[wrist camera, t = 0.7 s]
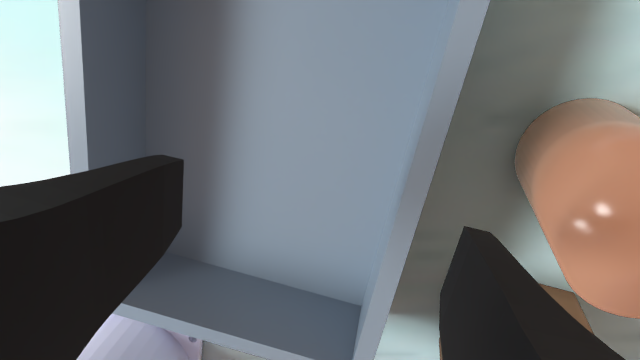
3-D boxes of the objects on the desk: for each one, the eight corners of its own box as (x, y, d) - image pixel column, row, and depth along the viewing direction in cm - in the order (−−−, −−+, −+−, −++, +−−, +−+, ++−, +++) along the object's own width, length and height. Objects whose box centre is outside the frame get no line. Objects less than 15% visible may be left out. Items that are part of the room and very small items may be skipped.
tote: (374, 311, 24) (364, 387, 20) (138, 246, 26) (80, 304, 21) (485, -52, 17) (509, -60, 12) (139, -119, 18) (46, -148, 13)
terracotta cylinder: (612, 222, 20) (701, 337, 14) (497, 194, 20) (532, 292, 14) (671, 114, 18) (810, 193, 11) (541, 85, 18) (605, 145, 12)
